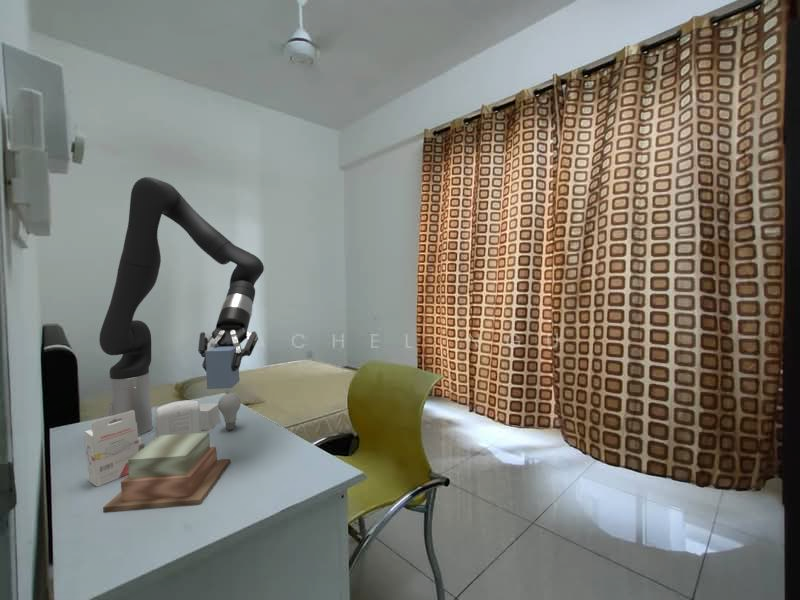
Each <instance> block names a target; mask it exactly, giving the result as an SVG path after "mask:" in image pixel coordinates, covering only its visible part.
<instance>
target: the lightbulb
mask: <svg viewBox="0 0 800 600" xmlns="http://www.w3.org/2000/svg"><path fill="white" fill-rule="evenodd" d="M217 404H218V407H219V410H220V413H221V414H222V416H223V418H224V423H225V427H226V430H229V431H232V430H233V429H235V428H236V424H237V423H236V420H237V417H238V416H237V415H238V412H239V410H240V409H241V408H240V407H241V404H242V401H241V398H240V396H239V395H238V394H236V393H233V392H231V393H225V394H224V395H223V396H221V397H220V398H219V401H218V403H217Z"/></svg>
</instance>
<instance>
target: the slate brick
mask: <svg viewBox="0 0 800 600" xmlns="http://www.w3.org/2000/svg"><path fill="white" fill-rule="evenodd" d="M235 349H236V347H234V346H220V347H215V348H211V349H209V350H207V351H205V353H206V371H205V373H206V390H215V389H216V390H217V389H219V390H221V389H232V388H234V387H235V386H236V385H237V384H238V383H239V382H240V368H239V369H237V370H236V371H233V370H232V368H231V365H232V362H233V358H234V354H236V351H235Z"/></svg>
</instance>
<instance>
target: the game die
mask: <svg viewBox="0 0 800 600" xmlns="http://www.w3.org/2000/svg"><path fill="white" fill-rule="evenodd" d="M145 440H146V439H144V438H143V437H142V436H138V443H139V449H140V450H141V449H143V448H144V447H145V446H146V445H145V444H146V443H145V442H146V441H145Z"/></svg>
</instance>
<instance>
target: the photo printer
mask: <svg viewBox="0 0 800 600" xmlns="http://www.w3.org/2000/svg"><path fill="white" fill-rule="evenodd" d="M199 405H200V404H199V401H197V400H191V399H190V400H187V399H185V400H177V401H173V402H170V403H165V404H163V405H161V406H159V407H157V410H156V414H155V433H156V438H157V437H158V436H159V435H175V434H191V433H202V430H201V417H200V407H199Z"/></svg>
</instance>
